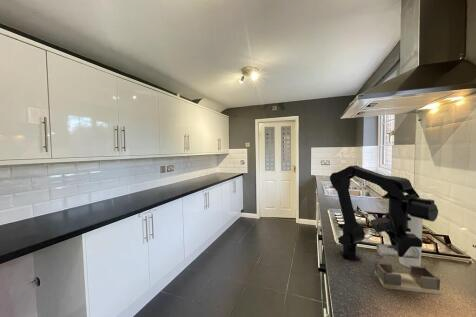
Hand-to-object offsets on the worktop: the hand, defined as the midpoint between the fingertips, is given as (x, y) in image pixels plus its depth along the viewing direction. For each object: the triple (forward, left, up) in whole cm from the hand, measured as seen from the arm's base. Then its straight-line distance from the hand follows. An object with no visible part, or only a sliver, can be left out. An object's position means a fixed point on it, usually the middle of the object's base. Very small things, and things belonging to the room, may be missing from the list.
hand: (397, 253), depth 76 cm
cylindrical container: (-14, +11, -12) cm, 21 cm away
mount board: (0, +3, -11) cm, 12 cm away
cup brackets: (0, +3, -10) cm, 10 cm away
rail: (0, 0, +1) cm, 1 cm away
